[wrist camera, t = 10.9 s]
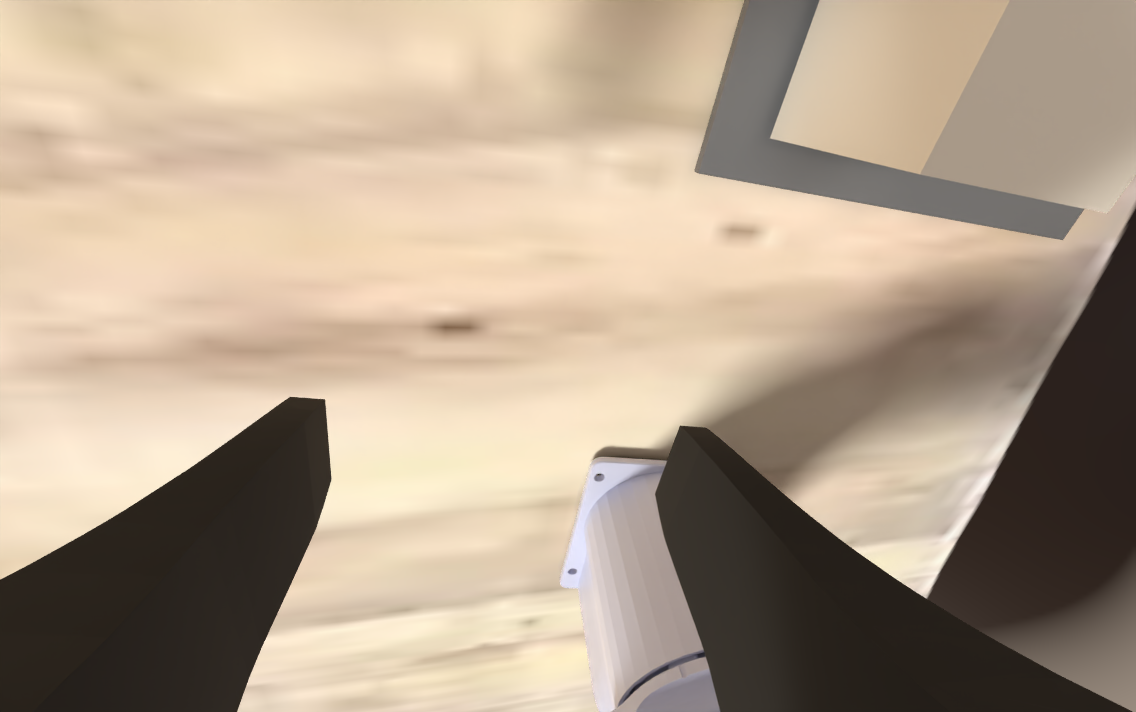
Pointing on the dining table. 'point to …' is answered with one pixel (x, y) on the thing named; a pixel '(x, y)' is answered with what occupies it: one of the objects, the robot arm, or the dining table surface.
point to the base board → (748, 153)
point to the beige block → (974, 93)
